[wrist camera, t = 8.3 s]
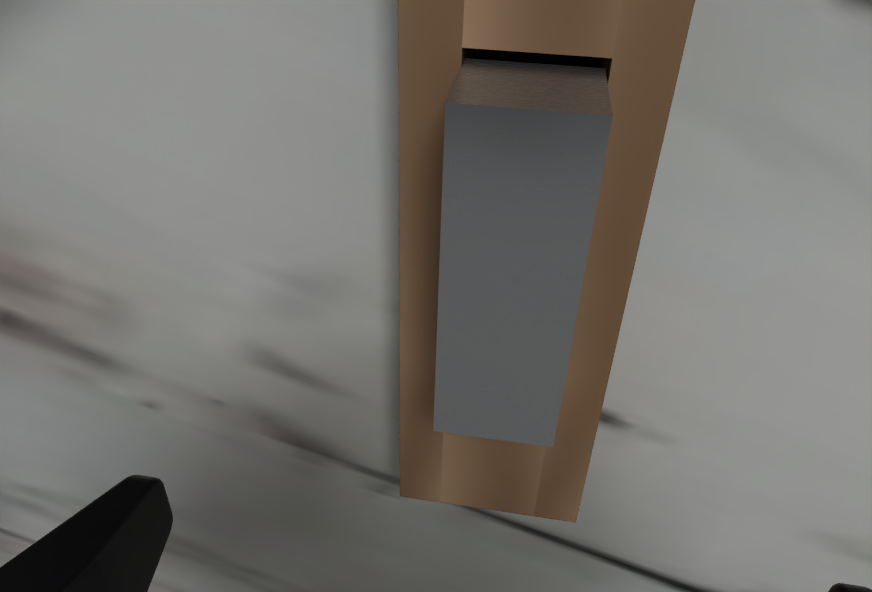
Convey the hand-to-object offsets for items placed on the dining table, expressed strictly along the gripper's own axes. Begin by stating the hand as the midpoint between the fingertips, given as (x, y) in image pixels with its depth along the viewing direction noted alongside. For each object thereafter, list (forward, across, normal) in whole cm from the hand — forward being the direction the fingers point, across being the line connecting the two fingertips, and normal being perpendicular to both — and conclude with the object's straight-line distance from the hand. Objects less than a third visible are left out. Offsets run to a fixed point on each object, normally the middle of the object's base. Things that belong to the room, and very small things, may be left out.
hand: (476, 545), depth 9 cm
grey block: (+12, 0, 0) cm, 12 cm away
